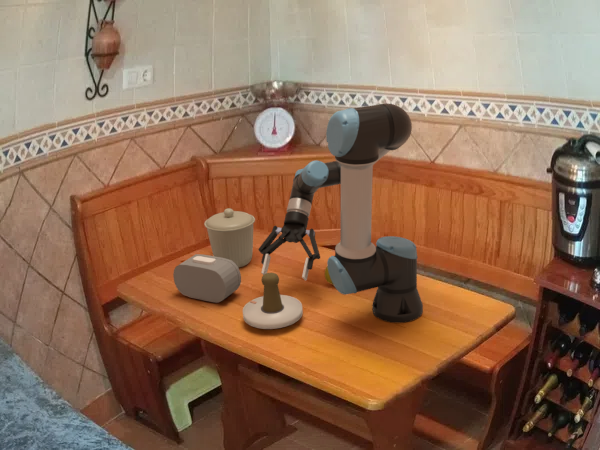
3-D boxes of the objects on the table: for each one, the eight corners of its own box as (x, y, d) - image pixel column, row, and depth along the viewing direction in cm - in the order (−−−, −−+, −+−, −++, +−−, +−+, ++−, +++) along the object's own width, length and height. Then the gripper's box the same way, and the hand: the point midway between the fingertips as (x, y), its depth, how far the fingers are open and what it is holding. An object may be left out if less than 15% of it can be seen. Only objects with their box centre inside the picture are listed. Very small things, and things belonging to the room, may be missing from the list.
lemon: (338, 280, 229) (337, 258, 226) (344, 286, 224) (343, 264, 221) (322, 283, 228) (321, 261, 225) (328, 289, 223) (327, 267, 220)
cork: (280, 312, 201) (277, 279, 197) (260, 311, 202) (257, 278, 198) (284, 303, 207) (282, 270, 203) (265, 302, 208) (262, 269, 204)
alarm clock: (243, 294, 224) (239, 257, 219) (227, 307, 216) (223, 268, 211) (193, 284, 233) (188, 248, 228) (176, 296, 225) (170, 259, 221)
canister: (209, 255, 256) (203, 203, 248) (257, 251, 257) (252, 198, 250) (208, 275, 239) (202, 219, 231) (260, 270, 240) (255, 214, 233)
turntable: (314, 308, 207) (313, 301, 206) (278, 334, 193) (278, 327, 193) (267, 295, 217) (267, 289, 216) (231, 319, 204) (230, 312, 203)
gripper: (337, 222, 218) (324, 284, 210) (265, 217, 227) (251, 276, 219) (331, 212, 212) (318, 276, 204) (258, 207, 220) (243, 268, 213)
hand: (283, 276), depth 211 cm, fingers open, 13 cm apart
